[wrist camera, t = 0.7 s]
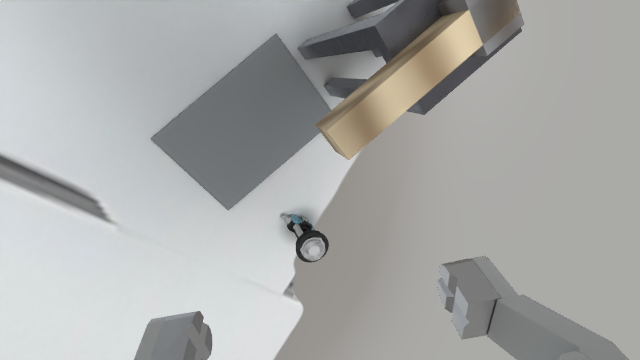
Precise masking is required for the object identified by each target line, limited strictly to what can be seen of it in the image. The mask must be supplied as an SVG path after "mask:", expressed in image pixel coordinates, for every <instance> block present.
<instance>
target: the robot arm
mask: <svg viewBox="0 0 640 360" xmlns="http://www.w3.org/2000/svg"><path fill="white" fill-rule="evenodd" d="M439 273H440V275H441V278H440V279H439V280H438V287H437V288H438V292H439V297H440V299H441V302H442V304H443V306H444V308H445V309H446V310H448V311H449V312H451V313H452V320H451V321H452V323H453V325H454V326H455V328H456V330H457V332H458V334H459V336H460V338H461V339H466V338H473V337H478V336H485V335H488V337H489V338H490V339H491V340H492V341H494V342H495V343H496V344H498V345H499V346H500V347H501V348H503V349H504V350H505V351H506V352H508V353H509V354H510V355H512V356H513V357H514V358H515V359H517V360H629V359H628V358H627V357H626V356H625V355H624V354H623V353H622V352H621V351H620V350H619V348H617V346H616V345H615V344H614V343H613V342H611V341H609V340H607V339H605V338H604V337H601V336H600V335H598V334H596V333H594V332H592V331H590V330H589V329H587V328H585V327H583V326H581V325H579V324H577V323H575V322H574V321H572V320H570V319H568V318H566V317H564V316H562V315H560V314H558V313H557V312H555V311H553V310H551V309H549V308H547V307H545V306H544V305H542V304H540V303H538V302H536V301H534V300H532V299H530V298H529V297H527V296H525V295H518V294H517V293H516V292H515V291H514V289H513V288H512V287H511V286H510V284H509V283H508V282H507V280H506V279H505V278H504V277H503V276H502V274H501V273H500V272H499V271H498V269H497V268H496V267H495V266H494V264H493V263H492V262H491V261H490V259H489V258H488V257H486V256H482V257H476V258H471V259H464V260H459V261H454V262H450V263H445V264H441V265H440V267H439ZM203 318H204V317H203V315H202V314H201V312H200V311H197V312H191V313H185V314H179V315H172V316H166V317H161V318H155V319H152V320H151V321H150V322H149V323H148V325H147V327H146V330H145V332H144V335H143V337H142V340H141V343H140V345H139V348H138V350H137V353H136V356H135V358H134V360H207V359H208V358H209V356H210V355H211V350H212V334H211V330H210V328H209V326H208V325H207V324H205V323H203Z"/></svg>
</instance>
